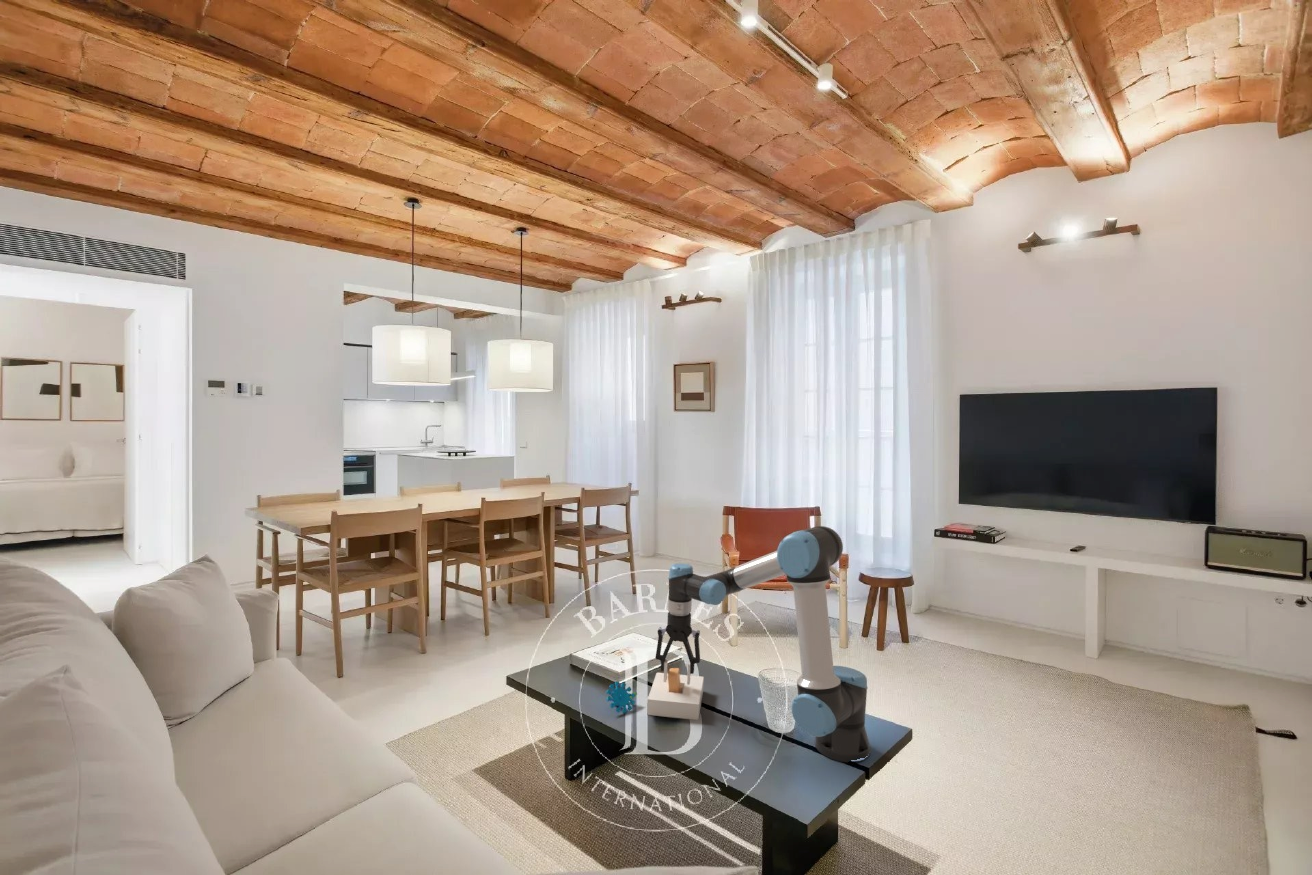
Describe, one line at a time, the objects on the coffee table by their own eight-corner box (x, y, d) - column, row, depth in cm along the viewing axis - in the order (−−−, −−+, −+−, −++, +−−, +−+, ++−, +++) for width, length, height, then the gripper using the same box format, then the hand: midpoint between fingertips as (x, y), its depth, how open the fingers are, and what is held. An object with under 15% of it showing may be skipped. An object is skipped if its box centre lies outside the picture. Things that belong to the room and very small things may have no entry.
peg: (681, 697, 219) (679, 667, 218) (679, 706, 213) (677, 675, 212) (672, 697, 219) (669, 668, 219) (670, 706, 213) (667, 675, 213)
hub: (698, 719, 205) (698, 704, 205) (647, 714, 207) (647, 699, 207) (703, 691, 225) (703, 676, 225) (656, 686, 227) (656, 672, 227)
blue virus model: (612, 713, 204) (604, 681, 210) (604, 720, 208) (596, 689, 214) (642, 709, 211) (634, 678, 216) (633, 716, 214) (625, 686, 220)
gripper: (647, 613, 212) (644, 683, 213) (709, 618, 209) (706, 689, 211) (650, 606, 219) (648, 673, 221) (711, 610, 216) (708, 679, 218)
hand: (677, 681), depth 216 cm, fingers open, 7 cm apart
